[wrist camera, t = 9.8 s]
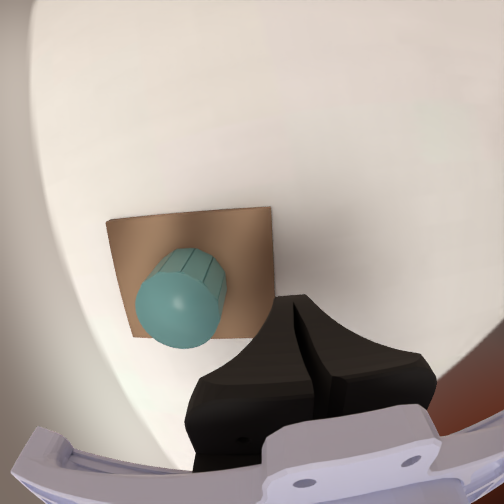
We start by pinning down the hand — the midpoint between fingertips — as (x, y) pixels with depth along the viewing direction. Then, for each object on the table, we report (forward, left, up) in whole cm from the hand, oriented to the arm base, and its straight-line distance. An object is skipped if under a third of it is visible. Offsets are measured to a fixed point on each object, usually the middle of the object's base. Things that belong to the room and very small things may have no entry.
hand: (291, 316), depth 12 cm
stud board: (+6, +2, -9) cm, 12 cm away
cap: (+6, +2, -9) cm, 11 cm away
